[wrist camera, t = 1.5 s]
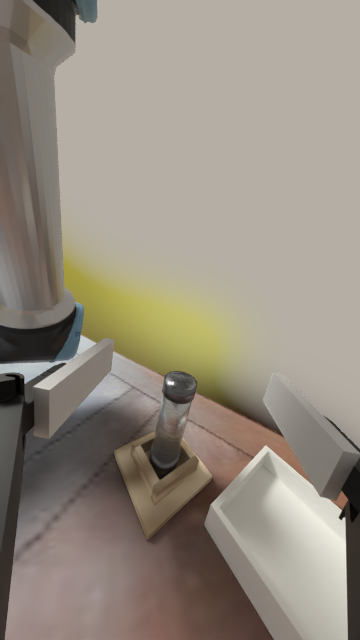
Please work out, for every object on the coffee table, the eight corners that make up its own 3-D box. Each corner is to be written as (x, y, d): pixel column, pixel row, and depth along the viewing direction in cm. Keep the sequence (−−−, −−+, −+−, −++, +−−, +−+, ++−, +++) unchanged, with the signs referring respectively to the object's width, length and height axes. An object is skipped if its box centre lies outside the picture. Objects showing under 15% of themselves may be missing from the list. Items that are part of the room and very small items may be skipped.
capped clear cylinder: (143, 457, 29) (158, 375, 25) (166, 444, 32) (182, 368, 28) (158, 486, 26) (178, 395, 22) (182, 468, 29) (203, 385, 25)
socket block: (113, 454, 30) (116, 438, 29) (169, 426, 37) (172, 412, 37) (147, 540, 21) (151, 521, 20) (211, 480, 29) (216, 464, 28)
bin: (203, 525, 23) (210, 504, 22) (259, 461, 34) (265, 445, 33) (372, 801, 12) (402, 784, 11) (378, 574, 22) (393, 555, 21)
